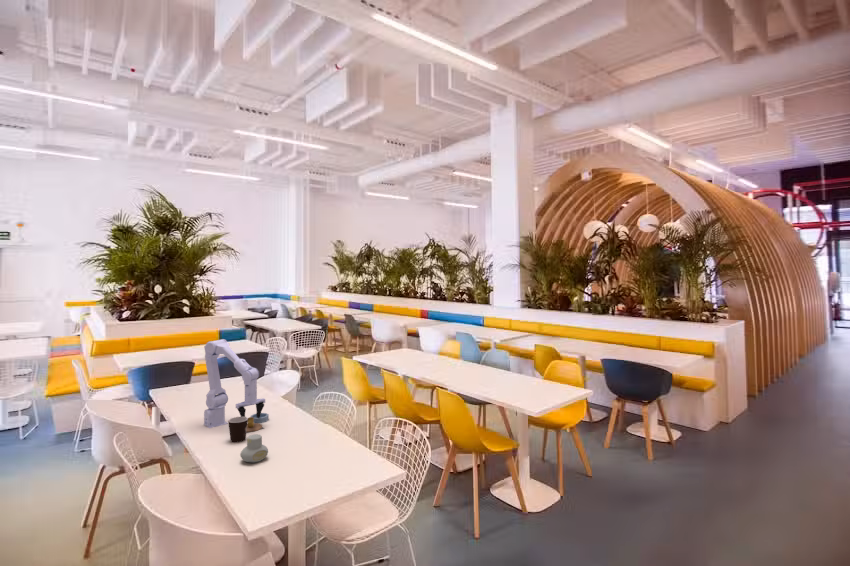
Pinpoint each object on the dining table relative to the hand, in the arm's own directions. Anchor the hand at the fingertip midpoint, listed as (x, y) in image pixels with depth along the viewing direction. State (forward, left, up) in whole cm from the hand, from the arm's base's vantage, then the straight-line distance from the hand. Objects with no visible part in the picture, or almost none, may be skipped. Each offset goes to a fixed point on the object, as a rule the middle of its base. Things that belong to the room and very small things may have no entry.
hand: (250, 419), depth 224 cm
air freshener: (-15, -37, -5) cm, 40 cm away
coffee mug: (-10, -10, -5) cm, 15 cm away
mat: (0, 0, -5) cm, 5 cm away
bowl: (+8, +9, -5) cm, 13 cm away
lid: (0, 0, -5) cm, 5 cm away
